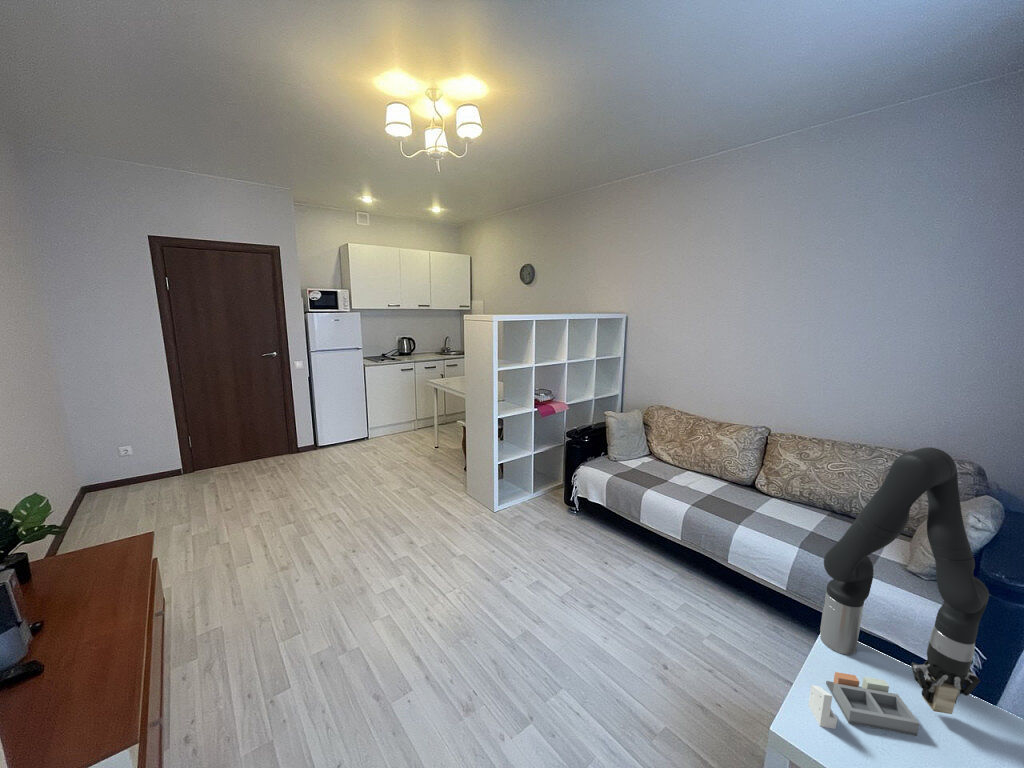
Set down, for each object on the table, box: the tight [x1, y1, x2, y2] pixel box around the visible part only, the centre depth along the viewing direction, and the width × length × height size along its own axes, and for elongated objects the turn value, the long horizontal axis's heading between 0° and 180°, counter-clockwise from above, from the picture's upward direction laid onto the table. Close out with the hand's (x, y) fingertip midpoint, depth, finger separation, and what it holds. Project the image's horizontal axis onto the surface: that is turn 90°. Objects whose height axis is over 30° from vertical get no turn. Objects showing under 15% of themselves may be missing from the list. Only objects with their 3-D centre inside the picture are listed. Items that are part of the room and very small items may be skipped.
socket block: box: [825, 671, 920, 737], centre depth 108 cm, size 12×15×5 cm
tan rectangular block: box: [921, 677, 959, 715], centre depth 105 cm, size 4×4×8 cm
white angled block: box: [808, 684, 838, 730], centre depth 105 cm, size 4×10×9 cm, turn 168°
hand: (937, 701), depth 105 cm, fingers closed on tan rectangular block, 4 cm apart
